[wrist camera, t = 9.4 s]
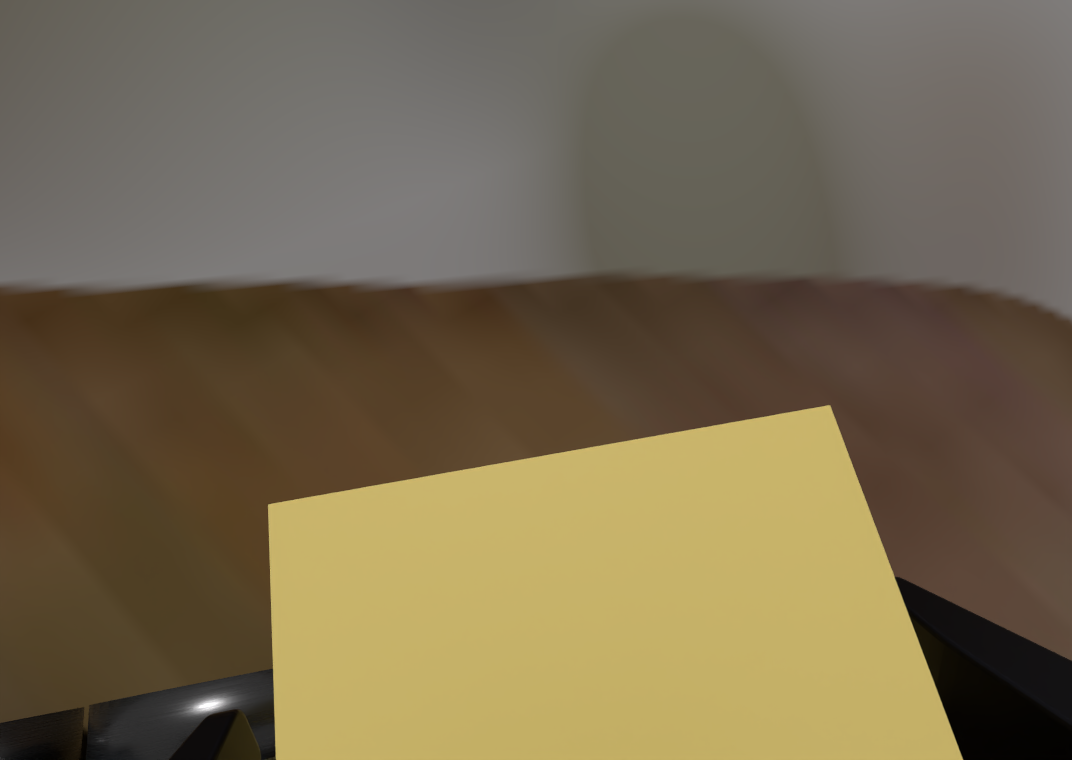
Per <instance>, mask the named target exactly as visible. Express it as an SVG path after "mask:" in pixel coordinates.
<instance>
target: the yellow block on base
mask: <svg viewBox="0 0 1072 760" xmlns="http://www.w3.org/2000/svg"><path fill="white" fill-rule="evenodd" d="M268 516H269V549H270V582H271V615H272V648H273V681H274V714H275V747H276V760H963V758H962V756H961V753H960V750H959V748H958V745H957V742H956V740H955V737H954V734H953V732H952V729H951V726H950V724H949V721H948V718H947V716H946V713H945V710H944V708H943V705H942V702H941V700H940V697H939V694H938V692H937V689H936V686H935V684H934V681H933V678H932V676H931V673H930V670H929V668H928V665H927V662H926V660H925V657H924V654H923V652H922V649H921V646H920V644H919V641H918V638H917V636H916V633H915V630H914V628H913V625H912V622H911V620H910V617H909V614H908V612H907V609H906V606H905V604H904V601H903V598H902V596H901V593H900V590H899V588H898V585H897V582H896V580H895V577H894V574H893V572H892V569H891V566H890V564H889V561H888V558H887V556H886V553H885V550H884V548H883V545H882V543H881V540H880V537H879V535H878V532H877V529H876V527H875V524H874V521H873V519H872V516H871V513H870V511H869V508H868V505H867V503H866V500H865V497H864V495H863V492H862V489H861V487H860V484H859V481H858V479H857V476H856V473H855V471H854V468H853V465H852V463H851V460H850V457H849V455H848V452H847V449H846V447H845V444H844V441H843V439H842V436H841V433H840V431H839V428H838V425H837V423H836V420H835V417H834V415H833V412H832V409H831V407H830V405H829V406H823V407H817V408H812V409H806V410H800V411H795V412H789V413H783V414H778V415H772V416H766V417H761V418H755V419H749V420H744V421H738V422H732V423H727V424H721V425H715V426H710V427H704V428H698V429H693V430H687V431H681V432H676V433H670V434H664V435H659V436H653V437H647V438H642V439H636V440H630V441H625V442H619V443H613V444H608V445H602V446H596V447H591V448H585V449H579V450H574V451H568V452H562V453H557V454H551V455H545V456H540V457H534V458H529V459H523V460H517V461H512V462H506V463H500V464H495V465H489V466H483V467H478V468H472V469H466V470H461V471H455V472H449V473H444V474H438V475H432V476H427V477H421V478H415V479H410V480H404V481H398V482H393V483H387V484H381V485H376V486H370V487H364V488H359V489H353V490H347V491H342V492H336V493H330V494H325V495H319V496H313V497H308V498H302V499H296V500H291V501H285V502H279V503H274V504H268Z"/></svg>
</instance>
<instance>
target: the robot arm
mask: <svg viewBox="0 0 1072 760" xmlns="http://www.w3.org/2000/svg"><path fill="white" fill-rule="evenodd" d="M895 580H896V582H897V585H898V588H899V590H900V593H901V596H902V598H903V601H904V604H905V606H906V609H907V612H908V614H909V617H910V620H911V622H912V625H913V628H914V630H915V633H916V636H917V638H918V641H919V644H920V646H921V649H922V652H923V654H924V657H925V660H926V662H927V665H928V668H929V670H930V673H931V676H932V678H933V681H934V684H935V686H936V689H937V692H938V694H939V697H940V700H941V702H942V705H943V708H944V710H945V713H946V716H947V718H948V721H949V724H950V726H951V729H952V732H953V734H954V737H955V740H956V742H957V745H958V748H959V750H960V753H961V756H962V758H963V760H1072V661H1071V660H1069V659H1067V658H1065V657H1063V656H1061V655H1059V654H1057V653H1054V652H1052V651H1050V650H1048V649H1046V648H1044V647H1042V646H1040V645H1038V644H1036V643H1034V642H1032V641H1030V640H1028V639H1026V638H1024V637H1022V636H1020V635H1018V634H1015V633H1013V632H1011V631H1009V630H1007V629H1005V628H1003V627H1001V626H999V625H997V624H995V623H993V622H991V621H989V620H987V619H985V618H983V617H981V616H978V615H976V614H974V613H972V612H970V611H968V610H966V609H964V608H962V607H960V606H958V605H956V604H954V603H952V602H950V601H948V600H946V599H944V598H941V597H939V596H937V595H935V594H933V593H931V592H929V591H927V590H925V589H923V588H921V587H919V586H917V585H915V584H913V583H911V582H909V581H907V580H904V579H902V578H900V577H895ZM169 760H261V753H260V749H259V746H258V743H257V741H256V739H255V737H254V734H253V732H252V730H251V727H250V725H249V723H248V721H247V718H246V716H245V714H244V713H243V712H242V711H241V710H239V709H233V710H228V711H223V712H218V713H213V714H211V715H209V716H207V717H206V718H205V719H204V720H203V721H202V722H201V723H200V724H199V725H198V726H197V727H196V729H195V730H194V731H193V732H192V733H191V734H190V735H189V737H188V738H187V739H186V740H185V741H184V742H183V743H182V745H181V746H180V747H179V748H178V749H177V750H176V752H175V753H174V754H173V755H172V756H171V757H170V758H169Z"/></svg>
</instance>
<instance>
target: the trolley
mask: <svg viewBox="0 0 1072 760" xmlns="http://www.w3.org/2000/svg"><path fill="white" fill-rule="evenodd" d="M233 709H239V710H241V711H242V712H243V713H244V714H245V716H246V718H247V721H248V723H249V725H250V727H251V730H252V732H253V734H254V737H255V739H256V741H257V743H258V746H259V749H260V753H261V760H276V747H275V714H274V681H273V669H269V670H264V671H259V672H254V673H249V674H243V675H238V676H233V677H228V678H223V679H218V680H213V681H208V682H203V683H198V684H193V685H187V686H182V687H177V688H172V689H167V690H162V691H157V692H152V693H147V694H142V695H137V696H132V697H127V698H122V699H117V700H112V701H108V702H103V703H98V704H93V705H89V721H88V736H87V752H86V760H169V758H170V757H171V756H172V755H173V754H174V753H175V752H176V750H177V749H178V748H179V747H180V746H181V745H182V743H183V742H184V741H185V740H186V739H187V738H188V737H189V735H190V734H191V733H192V732H193V731H194V730H195V729H196V727H197V726H198V725H199V724H200V723H201V722H202V721H203V720H204V719H205V718H206V717H207V716H209V715H211V714H213V713H218V712H223V711H228V710H233ZM83 719H84V707H82V708H77V709H71V710H66V711H61V712H56V713H50V714H45V715H40V716H35V717H29V718H24V719H19V720H14V721H9V722H4V723H0V760H81V749H82V734H83Z"/></svg>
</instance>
